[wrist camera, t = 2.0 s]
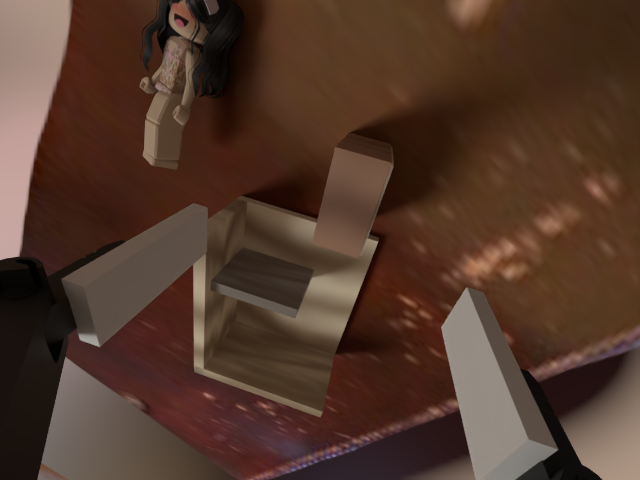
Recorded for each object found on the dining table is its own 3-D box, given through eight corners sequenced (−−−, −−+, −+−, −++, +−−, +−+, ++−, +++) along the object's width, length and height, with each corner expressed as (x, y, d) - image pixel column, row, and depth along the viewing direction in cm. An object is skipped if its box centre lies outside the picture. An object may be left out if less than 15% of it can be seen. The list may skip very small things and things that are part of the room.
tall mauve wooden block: (349, 132, 26) (335, 146, 19) (393, 144, 26) (394, 163, 19) (329, 209, 30) (311, 243, 23) (366, 220, 30) (360, 259, 23)
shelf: (241, 195, 32) (193, 229, 24) (378, 237, 30) (375, 287, 23) (230, 319, 42) (194, 371, 34) (333, 354, 40) (320, 417, 33)
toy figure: (108, 129, 26) (154, -60, 21) (173, 145, 31) (223, -3, 26) (143, 169, 23) (206, -37, 18) (208, 178, 29) (272, 22, 23)
